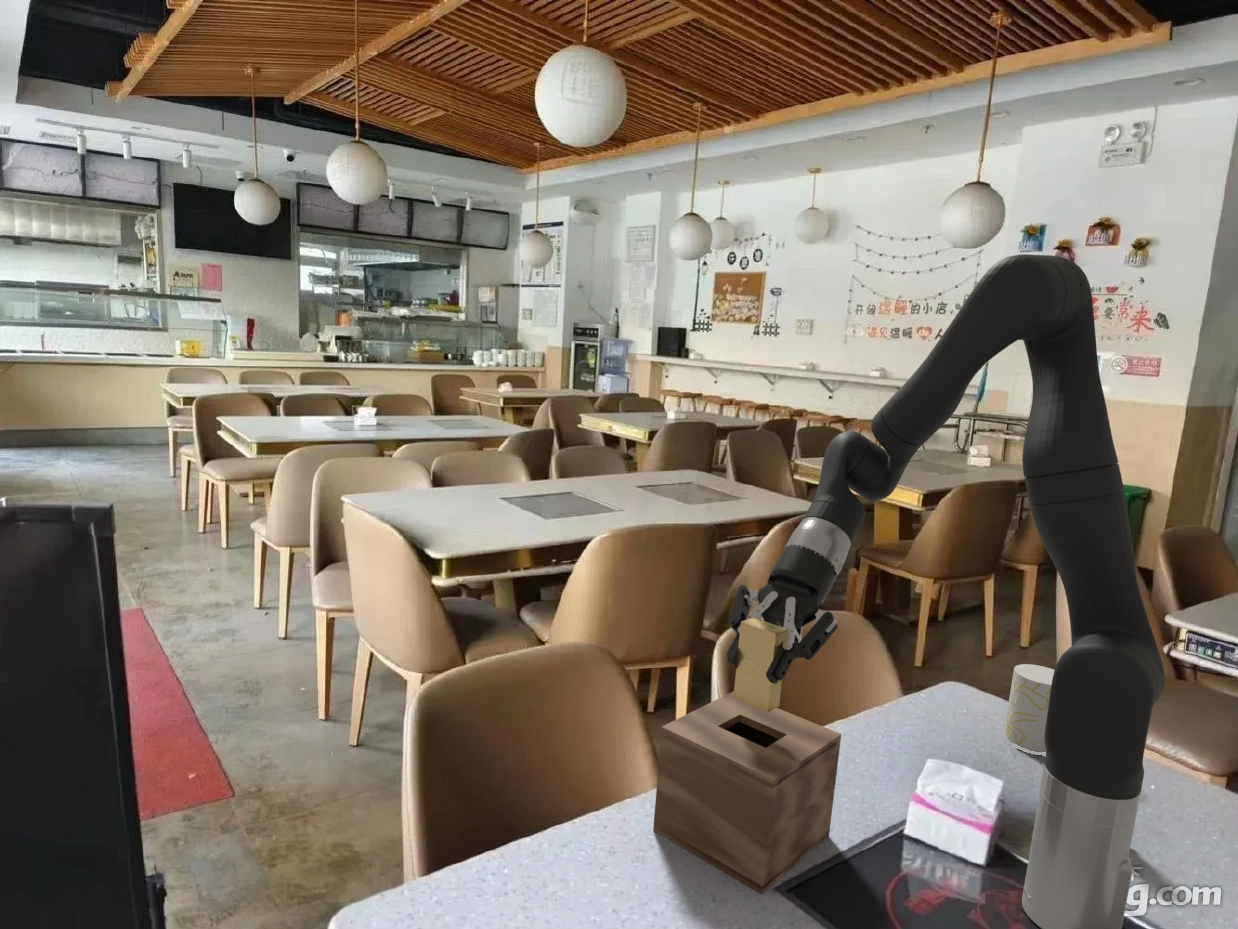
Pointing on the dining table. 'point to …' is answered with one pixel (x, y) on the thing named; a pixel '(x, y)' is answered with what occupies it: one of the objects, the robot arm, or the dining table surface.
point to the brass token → (758, 663)
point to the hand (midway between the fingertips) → (751, 671)
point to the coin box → (746, 788)
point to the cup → (1028, 706)
